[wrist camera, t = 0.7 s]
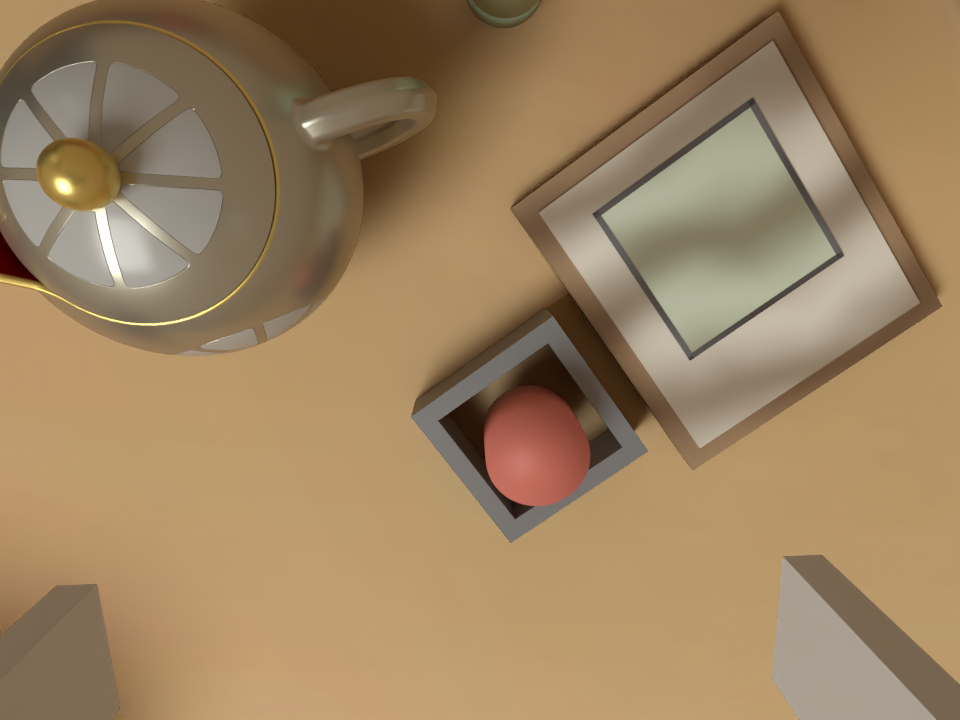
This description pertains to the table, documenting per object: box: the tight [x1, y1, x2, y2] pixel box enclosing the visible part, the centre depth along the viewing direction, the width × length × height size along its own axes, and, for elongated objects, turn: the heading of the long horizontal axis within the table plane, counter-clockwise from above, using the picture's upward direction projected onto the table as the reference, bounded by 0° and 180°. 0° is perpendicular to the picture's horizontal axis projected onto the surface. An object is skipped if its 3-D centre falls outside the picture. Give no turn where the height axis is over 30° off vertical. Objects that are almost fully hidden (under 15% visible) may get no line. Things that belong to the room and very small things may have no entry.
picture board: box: [510, 11, 942, 470], centre depth 33 cm, size 18×16×1 cm
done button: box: [483, 385, 590, 506], centre depth 32 cm, size 5×5×4 cm
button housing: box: [411, 308, 648, 543], centre depth 34 cm, size 9×9×3 cm
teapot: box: [0, 0, 437, 356], centre depth 25 cm, size 18×14×16 cm
